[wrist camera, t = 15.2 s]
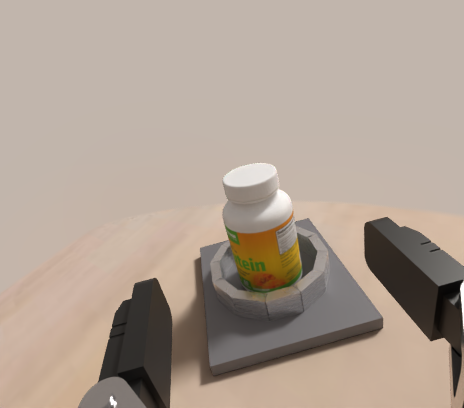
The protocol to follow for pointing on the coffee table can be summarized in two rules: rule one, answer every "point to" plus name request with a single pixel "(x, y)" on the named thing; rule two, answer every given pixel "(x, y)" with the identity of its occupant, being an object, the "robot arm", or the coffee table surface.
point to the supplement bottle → (261, 229)
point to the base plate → (289, 328)
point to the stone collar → (280, 300)
